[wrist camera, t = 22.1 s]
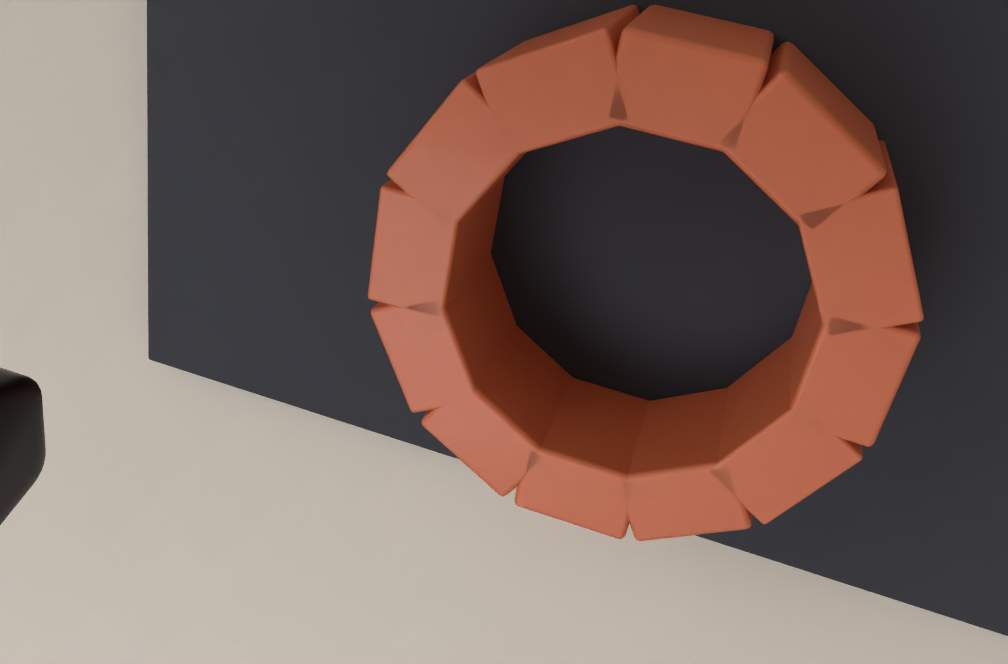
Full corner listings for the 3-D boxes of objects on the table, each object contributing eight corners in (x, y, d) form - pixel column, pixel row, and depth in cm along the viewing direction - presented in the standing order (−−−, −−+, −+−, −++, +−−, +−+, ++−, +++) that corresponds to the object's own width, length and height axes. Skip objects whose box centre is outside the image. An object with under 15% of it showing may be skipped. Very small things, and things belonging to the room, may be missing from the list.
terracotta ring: (984, 78, 13) (1019, 118, 11) (805, 508, 16) (805, 602, 14) (464, -41, 14) (403, -26, 12) (402, 383, 17) (347, 452, 15)
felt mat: (1474, 66, 12) (1495, 72, 11) (1091, 649, 16) (1097, 666, 16) (160, -209, 15) (144, -211, 14) (159, 351, 19) (147, 359, 19)
